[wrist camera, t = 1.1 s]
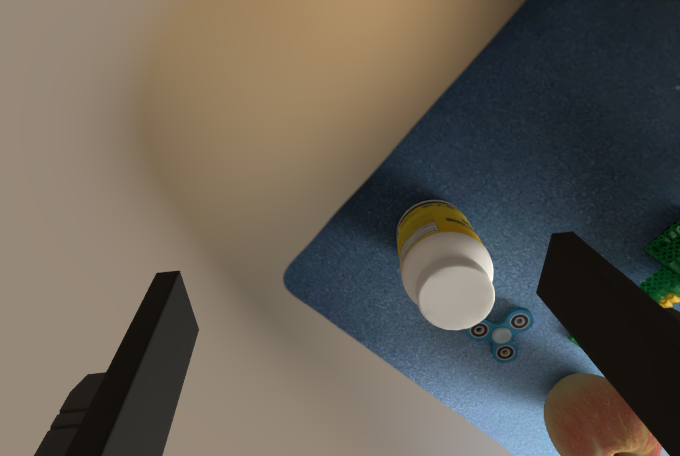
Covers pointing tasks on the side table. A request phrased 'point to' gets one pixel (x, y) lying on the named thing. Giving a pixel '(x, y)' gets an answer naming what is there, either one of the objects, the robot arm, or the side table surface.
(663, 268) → the green brick dinosaur
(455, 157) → the side table surface
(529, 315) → the toy
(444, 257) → the pill bottle
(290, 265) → the side table surface
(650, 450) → the apple
